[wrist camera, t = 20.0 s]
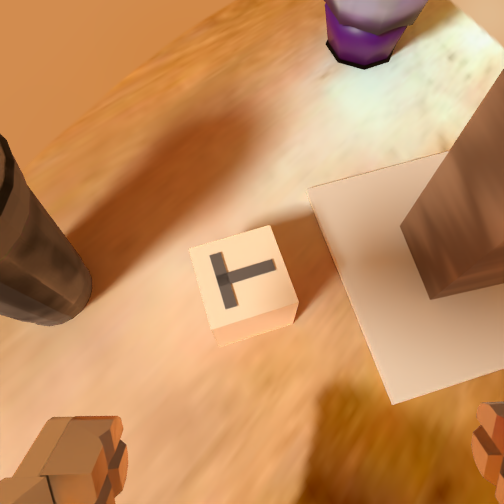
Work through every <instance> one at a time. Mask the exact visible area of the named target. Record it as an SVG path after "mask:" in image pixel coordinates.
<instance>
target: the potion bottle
mask: <svg viewBox="0 0 504 504" xmlns="http://www.w3.org/2000/svg"><path fill="white" fill-rule="evenodd" d="M324 1H325V2H326V4H325V11H326V23H327V35H328V40H327V42H326V45H327V47H328V48H329V50H330V51H331V53H332V54H333V56H334V57H335V59H336V60H337V62H339V63H343V64H346V65H350V66H353V67H357V68H360V69H364V70H365V69H368V68H371V67H374V66H377V65H380V64H383V63H386V62H389V60H390V57H391V55H392V52H393V50H394V47H395V45H396V43H397V42H398V40H399V38H400V37H401V35H402V34H403V32H404V30H405V29H406V27H407V25H413V23H414V21H415V20H416V18H417V17H418V15H419V14H420V12H421V10H422V9H423V7H424V6H425V4H426V3H427V1H428V0H324Z"/></svg>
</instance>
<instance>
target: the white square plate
mask: <svg viewBox="0 0 504 504" xmlns="http://www.w3.org/2000/svg"><path fill="white" fill-rule="evenodd" d="M448 152H449V151H447V152H443V153H439V154H436V155H432V156H428V157H424V158H421V159H417V160H413V161H410V162H406V163H402V164H398V165H395V166H391V167H387V168H383V169H380V170H376V171H372V172H368V173H365V174H361V175H357V176H354V177H350V178H346V179H342V180H339V181H335V182H331V183H327V184H324V185H320V186H316V187H312V188H309V189H307V190H306V194H307V197H308V199H309V202H310V204H311V207H312V209H313V212H314V214H315V216H316V219H317V221H318V224H319V226H320V229H321V231H322V234H323V236H324V239H325V241H326V243H327V246H328V248H329V251H330V253H331V256H332V258H333V261H334V263H335V266H336V268H337V271H338V273H339V275H340V278H341V280H342V283H343V285H344V288H345V290H346V293H347V295H348V298H349V300H350V302H351V305H352V307H353V310H354V312H355V315H356V317H357V320H358V322H359V325H360V327H361V329H362V332H363V334H364V337H365V339H366V342H367V344H368V347H369V349H370V352H371V354H372V357H373V359H374V361H375V364H376V366H377V369H378V371H379V374H380V376H381V379H382V381H383V384H384V386H385V388H386V391H387V393H388V396H389V398H390V401H391V403H392V405H393V404H397V403H400V402H403V401H406V400H409V399H412V398H415V397H418V396H421V395H424V394H428V393H431V392H434V391H437V390H440V389H443V388H446V387H449V386H452V385H455V384H458V383H461V382H464V381H467V380H470V379H473V378H476V377H480V376H483V375H486V374H489V373H492V372H495V371H498V370H501V369H504V283H503V284H499V285H494V286H490V287H485V288H481V289H477V290H472V291H468V292H464V293H459V294H455V295H450V296H446V297H442V298H437V299H433V300H430V298H429V296H428V294H427V291H426V289H425V286H424V284H423V281H422V279H421V277H420V274H419V272H418V269H417V267H416V264H415V262H414V260H413V257H412V255H411V252H410V250H409V248H408V245H407V243H406V240H405V238H404V235H403V233H402V231H401V228H400V225H401V223H402V222H403V220H404V219H405V217H406V216H407V214H408V213H409V211H410V210H411V208H412V207H413V205H414V204H415V202H416V201H417V199H418V198H419V196H420V194H421V193H422V191H423V190H424V188H425V187H426V185H427V184H428V182H429V181H430V179H431V178H432V176H433V175H434V173H435V172H436V170H437V169H438V167H439V166H440V164H441V163H442V161H443V160H444V158H445V157H446V155H447V154H448Z"/></svg>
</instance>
